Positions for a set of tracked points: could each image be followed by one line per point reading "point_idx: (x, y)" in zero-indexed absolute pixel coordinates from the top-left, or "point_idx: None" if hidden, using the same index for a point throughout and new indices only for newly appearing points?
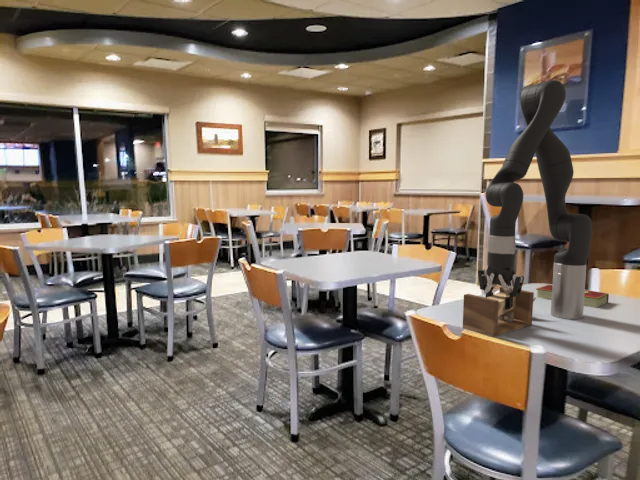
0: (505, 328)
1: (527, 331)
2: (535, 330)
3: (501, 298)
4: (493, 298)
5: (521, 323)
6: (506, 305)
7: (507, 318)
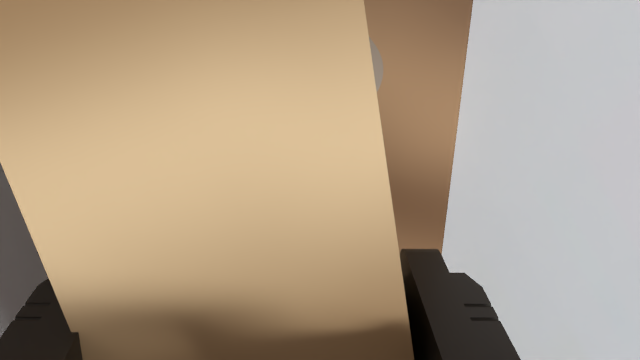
0: None
1: (18, 251)
2: (7, 327)
3: (173, 350)
4: (261, 238)
5: None
6: None
7: None
